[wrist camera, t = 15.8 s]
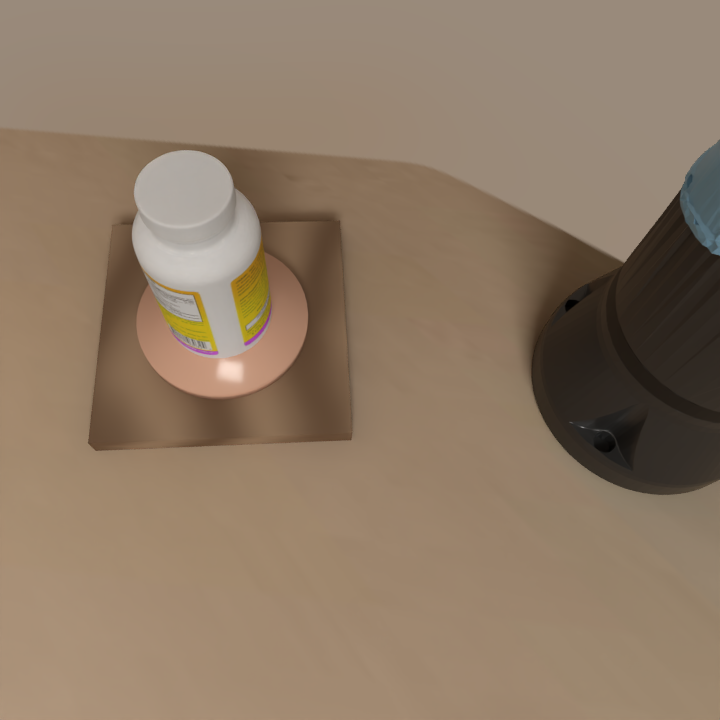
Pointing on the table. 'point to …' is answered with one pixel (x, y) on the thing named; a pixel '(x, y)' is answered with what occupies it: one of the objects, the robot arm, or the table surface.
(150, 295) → the pink dome
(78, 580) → the table surface
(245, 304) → the supplement bottle
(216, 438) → the square brown tray
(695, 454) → the robot arm
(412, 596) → the table surface
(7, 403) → the table surface
